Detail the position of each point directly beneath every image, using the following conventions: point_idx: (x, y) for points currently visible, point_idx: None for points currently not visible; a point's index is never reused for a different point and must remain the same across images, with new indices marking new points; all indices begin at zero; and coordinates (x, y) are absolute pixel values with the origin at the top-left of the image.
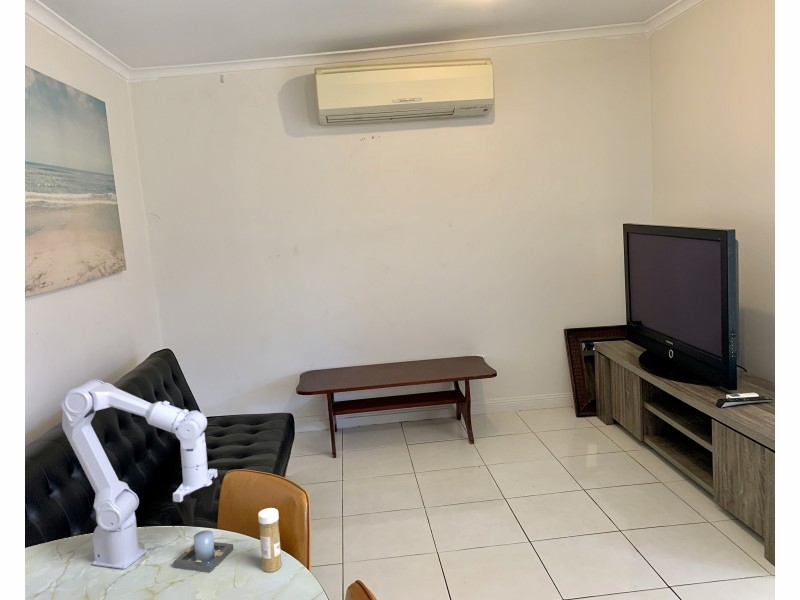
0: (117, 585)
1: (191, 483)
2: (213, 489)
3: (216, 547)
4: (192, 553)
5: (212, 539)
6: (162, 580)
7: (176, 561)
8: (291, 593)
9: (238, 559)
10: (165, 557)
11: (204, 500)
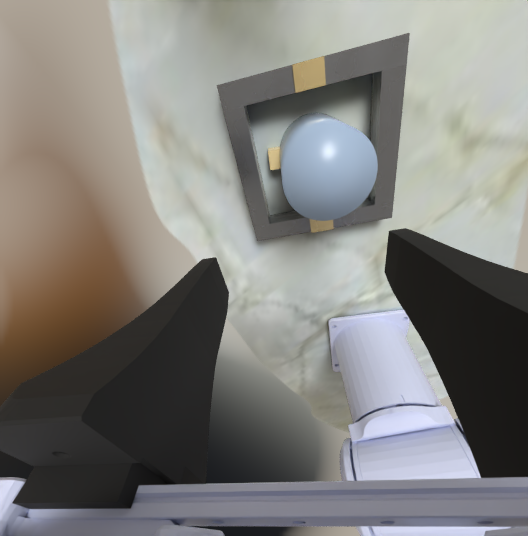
0: None
1: None
2: (146, 356)
3: (255, 155)
4: None
5: (313, 125)
6: (454, 188)
7: (388, 209)
8: None
9: None
10: (338, 268)
11: (215, 329)
